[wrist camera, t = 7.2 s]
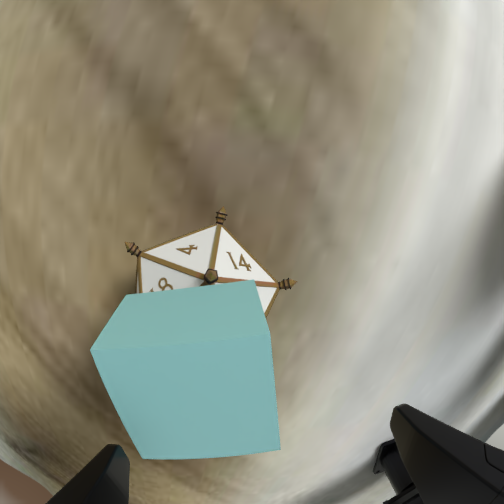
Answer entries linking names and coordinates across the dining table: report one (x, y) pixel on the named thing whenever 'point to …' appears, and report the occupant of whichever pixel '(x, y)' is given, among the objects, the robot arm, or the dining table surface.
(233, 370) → the teal block
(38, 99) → the dining table surface
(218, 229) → the game die
